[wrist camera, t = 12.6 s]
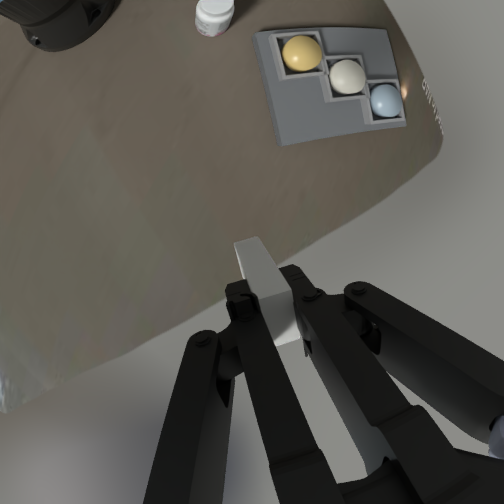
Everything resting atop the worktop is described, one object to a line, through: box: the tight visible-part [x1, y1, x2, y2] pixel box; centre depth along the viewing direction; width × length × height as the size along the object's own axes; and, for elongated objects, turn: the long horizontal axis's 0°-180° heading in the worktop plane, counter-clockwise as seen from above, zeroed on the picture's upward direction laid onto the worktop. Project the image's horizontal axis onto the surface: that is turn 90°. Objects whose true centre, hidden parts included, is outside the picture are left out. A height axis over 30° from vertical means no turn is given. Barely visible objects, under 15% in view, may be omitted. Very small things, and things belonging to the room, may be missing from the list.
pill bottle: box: [195, 0, 234, 37], centre depth 29 cm, size 5×5×8 cm
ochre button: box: [281, 36, 322, 72], centre depth 33 cm, size 5×5×2 cm
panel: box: [252, 27, 406, 146], centre depth 37 cm, size 17×22×4 cm
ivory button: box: [328, 60, 366, 94], centre depth 36 cm, size 5×5×2 cm
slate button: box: [369, 84, 402, 117], centre depth 38 cm, size 5×5×2 cm
